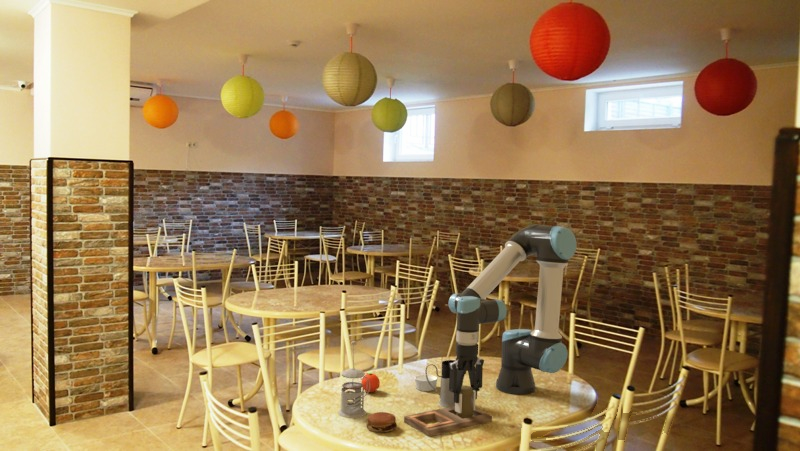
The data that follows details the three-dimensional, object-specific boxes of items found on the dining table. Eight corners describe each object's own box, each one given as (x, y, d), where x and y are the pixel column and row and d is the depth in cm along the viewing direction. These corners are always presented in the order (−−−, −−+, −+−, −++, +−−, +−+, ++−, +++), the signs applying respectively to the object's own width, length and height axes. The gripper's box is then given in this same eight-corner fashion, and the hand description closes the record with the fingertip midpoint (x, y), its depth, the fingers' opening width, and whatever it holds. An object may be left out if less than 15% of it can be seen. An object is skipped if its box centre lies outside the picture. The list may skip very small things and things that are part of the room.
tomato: (357, 389, 247) (357, 370, 247) (374, 387, 250) (374, 369, 250) (364, 395, 240) (365, 376, 239) (382, 393, 243) (382, 374, 242)
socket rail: (465, 409, 228) (465, 402, 228) (491, 421, 216) (492, 415, 216) (404, 422, 214) (404, 415, 214) (428, 436, 202) (428, 429, 202)
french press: (332, 411, 222) (333, 339, 221) (360, 405, 229) (361, 335, 228) (347, 420, 215) (349, 346, 213) (376, 413, 222) (378, 341, 220)
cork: (472, 422, 215) (474, 390, 215) (454, 420, 217) (455, 388, 216) (474, 416, 221) (475, 384, 221) (456, 414, 223) (457, 383, 222)
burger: (361, 426, 210) (361, 412, 209) (385, 421, 215) (385, 407, 215) (377, 436, 202) (378, 422, 201) (402, 431, 207) (402, 416, 207)
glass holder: (460, 409, 228) (461, 367, 227) (421, 404, 232) (422, 363, 231) (465, 401, 236) (466, 361, 235) (427, 396, 240) (428, 357, 239)
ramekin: (409, 387, 251) (409, 376, 251) (427, 383, 257) (427, 372, 256) (424, 393, 244) (424, 382, 244) (441, 389, 250) (442, 378, 249)
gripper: (452, 348, 209) (450, 418, 211) (495, 342, 219) (492, 409, 221) (438, 343, 216) (436, 411, 217) (480, 337, 225) (478, 402, 227)
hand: (465, 410), depth 219 cm, fingers closed on cork, 5 cm apart
